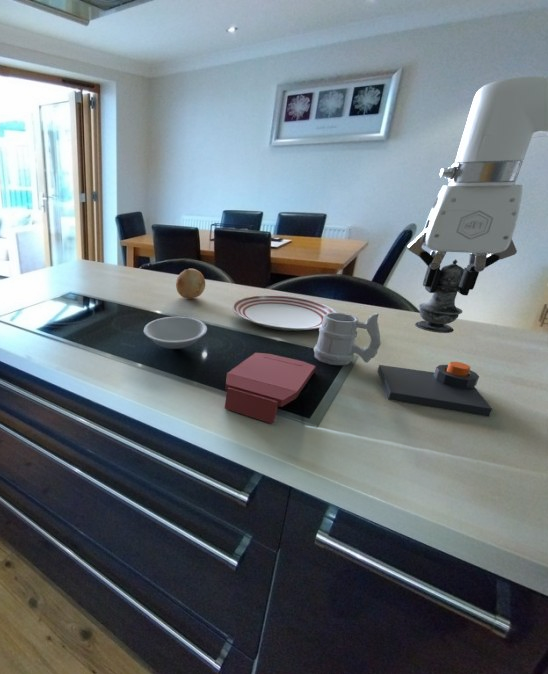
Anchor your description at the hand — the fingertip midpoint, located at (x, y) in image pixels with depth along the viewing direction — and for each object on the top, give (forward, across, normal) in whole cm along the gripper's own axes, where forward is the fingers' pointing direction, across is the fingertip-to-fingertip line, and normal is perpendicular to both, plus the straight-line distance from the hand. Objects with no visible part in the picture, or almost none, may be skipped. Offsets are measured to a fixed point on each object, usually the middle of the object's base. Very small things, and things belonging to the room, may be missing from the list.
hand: (445, 291), depth 66 cm
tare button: (+16, +7, +4) cm, 18 cm away
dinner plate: (+20, -24, +33) cm, 45 cm away
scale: (+19, +2, 0) cm, 20 cm away
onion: (+20, -53, +45) cm, 72 cm away
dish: (+20, -47, +3) cm, 51 cm away
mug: (+20, -11, +9) cm, 24 cm away
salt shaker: (+7, 0, 0) cm, 7 cm away
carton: (+20, -25, -9) cm, 33 cm away
